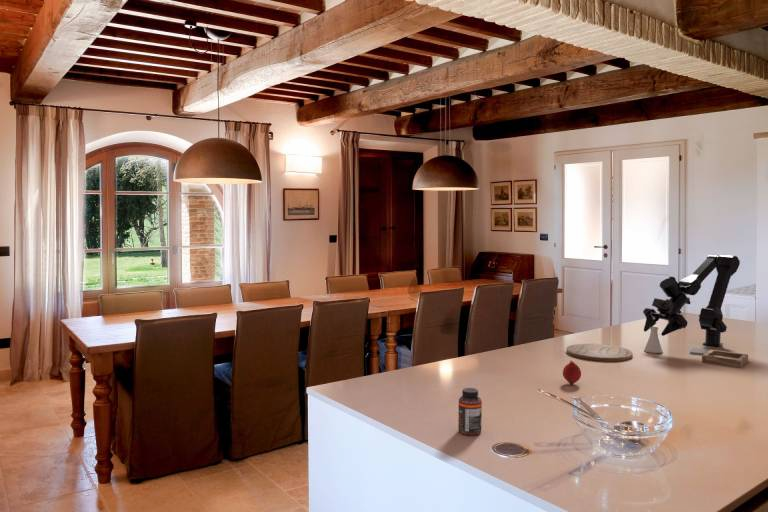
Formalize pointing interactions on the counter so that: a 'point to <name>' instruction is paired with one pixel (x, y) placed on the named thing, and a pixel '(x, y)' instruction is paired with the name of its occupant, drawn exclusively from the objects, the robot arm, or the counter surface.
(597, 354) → the trivet
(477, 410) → the supplement bottle
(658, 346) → the flask
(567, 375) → the onion
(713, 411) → the counter surface
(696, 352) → the slate coaster
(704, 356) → the tray
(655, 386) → the counter surface
